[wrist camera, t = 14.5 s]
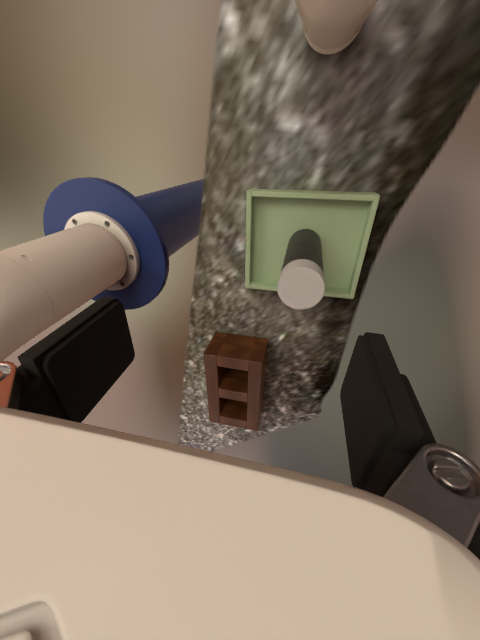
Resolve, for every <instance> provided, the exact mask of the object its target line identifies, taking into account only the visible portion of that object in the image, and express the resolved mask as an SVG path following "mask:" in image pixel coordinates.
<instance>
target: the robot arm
mask: <svg viewBox="0 0 480 640" xmlns="http://www.w3.org/2000/svg"><path fill="white" fill-rule="evenodd" d="M139 268H140V260H139V254H138V251H137V248H136V245H135V243H134V241H133V239H132V238H131V236H130V235H129V233H128V232H127V231H126V230H125V229H124V227H123V226H122V225H121V224H119V223H118V222H117V221H116V220H115V219H113V218H111V217H110V216H108V215H106V214H103V213H100V212H96V211H84V212H81V213H77V214H75V215H74V216H72V217H71V218H70V219H69V220H68V222H67V223H66V225H65V229H64V230H63V231H60V232H57V233H54V234H51V235H48V236H45V237H42V238H39V239H36V240H32V241H29V242H26V243H23V244H20V245H17V246H14V247H11V248H8V249H4V250H1V251H0V640H480V469H479V467H478V466H477V465H476V464H475V463H474V462H473V461H472V460H470V459H469V458H468V457H467V456H465V455H464V454H462V453H461V452H459V451H457V450H455V449H453V448H451V447H448V446H445V445H443V444H437V443H436V441H435V439H434V437H433V434H432V432H431V430H430V428H429V425H428V423H427V421H426V418H425V416H424V414H423V411H422V409H421V407H420V405H419V402H418V400H417V398H416V396H415V394H414V391H413V389H412V387H411V384H410V382H409V380H408V378H407V377H406V376H405V375H403V374H400V372H399V370H398V368H397V366H396V363H395V360H394V358H393V355H392V353H391V351H390V348H389V346H388V343H387V341H386V339H385V336H384V335H382V334H375V333H368V332H366V333H365V334H364V336H361V335H359V336H358V339H357V341H356V345H355V347H354V351H353V354H352V357H351V360H350V363H349V366H348V369H347V372H346V375H345V378H344V381H343V384H342V388H341V395H340V397H341V405H342V413H343V420H344V427H345V435H346V443H347V450H348V458H349V465H350V473H351V481H352V485H353V487H352V486H348V485H344V484H341V483H338V482H334V481H331V480H326V479H323V478H318V477H315V476H310V475H306V474H302V473H298V472H294V471H290V470H286V469H282V468H278V467H274V466H269V465H265V464H261V463H256V462H252V461H247V460H243V459H239V458H235V457H230V456H226V455H221V454H217V453H213V452H209V451H204V450H200V449H195V448H191V447H187V446H182V445H178V444H173V443H169V442H164V441H160V440H155V439H151V438H146V437H142V436H137V435H133V434H128V433H124V432H119V431H115V430H111V429H106V428H101V427H96V426H92V425H88V424H83V423H81V422H82V421H83V420H84V419H85V417H86V416H87V415H88V414H89V413H90V412H91V410H92V409H93V408H94V407H95V406H96V404H97V403H98V402H99V401H100V400H101V398H102V397H103V396H104V395H105V393H106V392H107V391H108V390H109V389H110V388H111V386H112V385H113V384H114V383H115V382H116V380H117V379H118V378H119V377H120V376H121V374H122V373H123V372H124V371H125V370H126V368H127V367H128V366H129V365H130V364H131V362H132V361H133V359H134V356H135V353H134V348H133V344H132V340H131V336H130V331H129V327H128V323H127V318H126V314H125V310H124V306H123V304H122V303H121V302H120V301H119V300H118V299H117V298H109V297H102V298H100V299H99V300H97V301H96V302H95V303H93V304H92V305H90V306H89V307H88V308H86V309H85V310H83V311H82V312H80V313H79V314H78V315H76V316H75V317H73V318H72V319H71V320H69V321H68V322H66V323H65V324H63V325H62V326H61V327H59V328H58V329H56V330H55V331H54V332H52V333H51V334H49V335H48V336H47V337H45V338H44V339H42V340H41V341H39V342H38V343H37V344H35V345H34V346H32V347H31V348H30V349H28V350H27V351H25V352H24V353H22V354H21V355H20V356H18V359H19V361H20V363H21V365H20V366H19V367H18V368H17V367H16V365H15V364H14V363H12V362H8V361H3V360H4V359H5V358H7V357H8V356H9V355H10V354H12V353H13V352H14V351H16V350H17V349H18V348H20V347H21V346H22V345H24V344H25V343H27V342H28V341H29V340H31V339H32V338H34V337H35V336H37V335H38V334H40V333H41V332H42V331H44V330H45V329H47V328H48V327H50V326H51V325H53V324H55V323H56V322H57V321H59V320H61V319H62V318H64V317H65V316H66V315H68V314H69V313H71V312H72V311H74V310H75V309H77V308H78V307H80V306H81V305H83V304H84V303H86V302H87V301H89V300H90V299H92V298H93V297H95V296H96V295H98V294H99V293H101V292H102V291H104V290H105V289H107V290H121V289H124V288H126V287H128V286H129V285H130V284H132V283H133V281H134V280H135V279H136V277H137V275H138V272H139ZM355 487H356V488H355Z"/></svg>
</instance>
